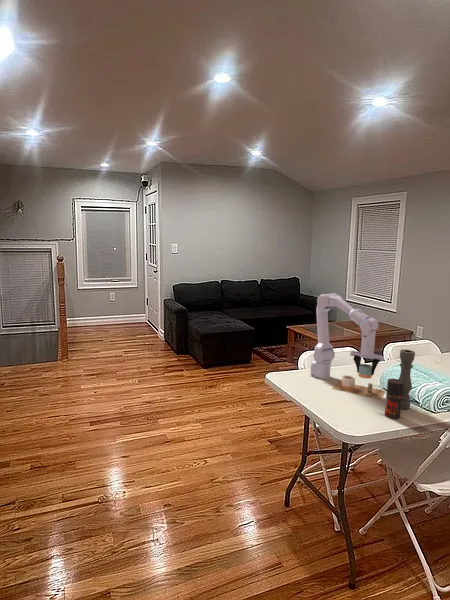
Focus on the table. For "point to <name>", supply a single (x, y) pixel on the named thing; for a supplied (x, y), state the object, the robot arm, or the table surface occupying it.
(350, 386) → the ivory sleeve
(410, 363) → the candle holder
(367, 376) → the teal sleeve
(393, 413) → the deodorant
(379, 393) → the pin board
